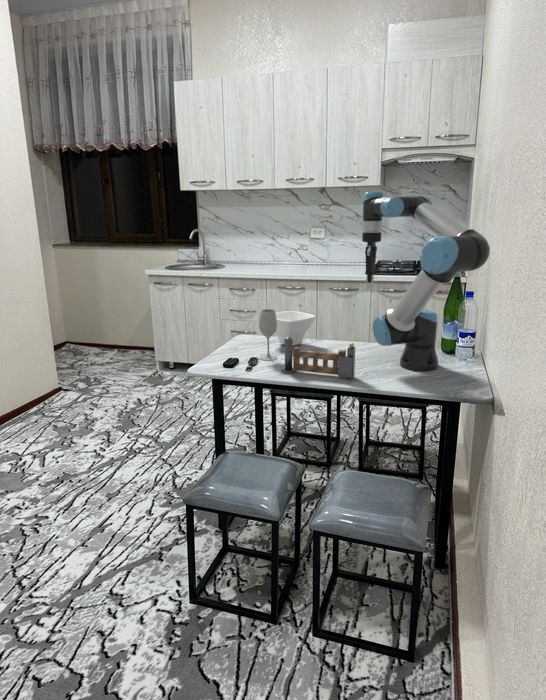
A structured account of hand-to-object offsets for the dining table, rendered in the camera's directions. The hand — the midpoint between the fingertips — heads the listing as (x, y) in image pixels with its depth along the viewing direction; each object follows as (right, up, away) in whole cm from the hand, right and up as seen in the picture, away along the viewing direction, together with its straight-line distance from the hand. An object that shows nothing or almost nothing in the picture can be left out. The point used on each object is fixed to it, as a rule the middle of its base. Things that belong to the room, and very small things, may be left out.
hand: (369, 289), depth 216 cm
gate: (-22, -33, -13) cm, 42 cm away
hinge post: (-34, -33, -8) cm, 48 cm away
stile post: (-12, -36, -17) cm, 41 cm away
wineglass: (-42, -29, +9) cm, 52 cm away
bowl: (-32, -23, +30) cm, 49 cm away
